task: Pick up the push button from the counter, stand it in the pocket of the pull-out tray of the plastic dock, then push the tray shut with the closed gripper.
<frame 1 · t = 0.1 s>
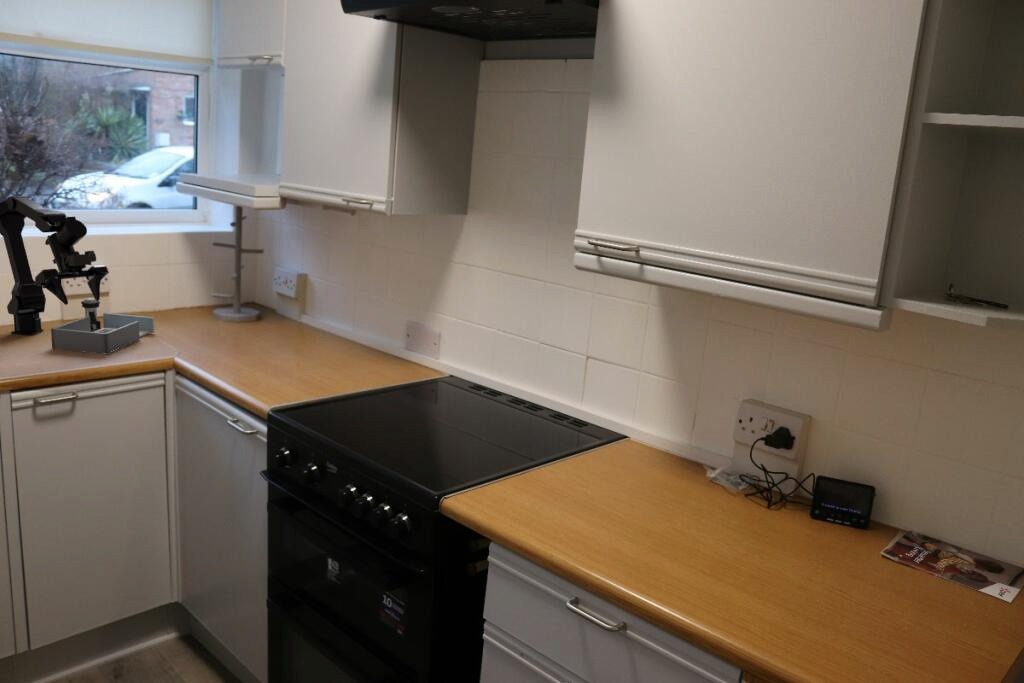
hand: (82, 302, 231), 15 cm above the worktop, tool tilted 35°, fingers open, 9 cm apart
push button: (89, 330, 260), on the worktop
dock: (100, 342, 246), on the worktop
tray: (113, 328, 253), point 3 cm above the worktop, slide at 8.0 cm
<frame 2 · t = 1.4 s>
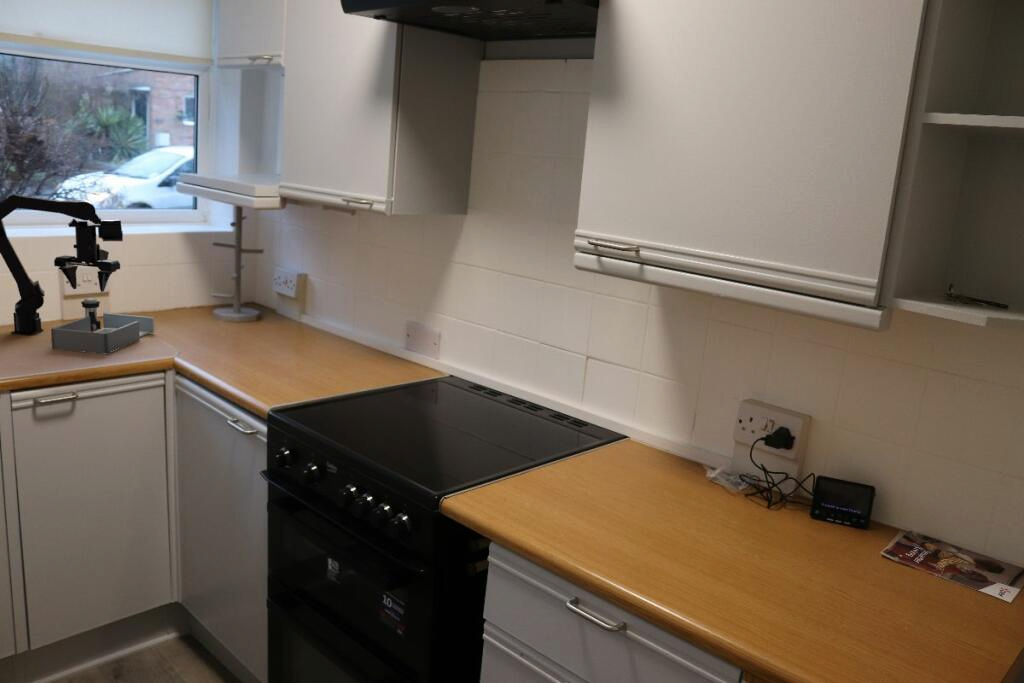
hand: (88, 290, 256), 13 cm above the worktop, tool pointing down, fingers open, 9 cm apart
nothing on the worktop moved.
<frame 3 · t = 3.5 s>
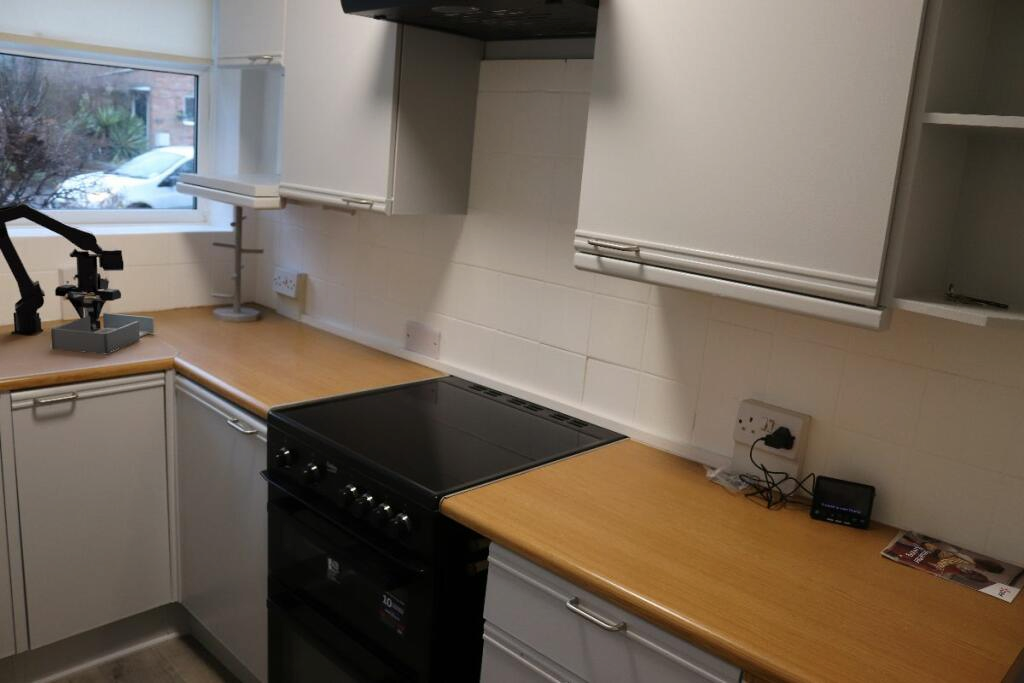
hand: (89, 319, 259), 4 cm above the worktop, tool pointing down, fingers closed on push button, 4 cm apart
push button: (89, 330, 260), on the worktop, touching gripper
everything else where it was.
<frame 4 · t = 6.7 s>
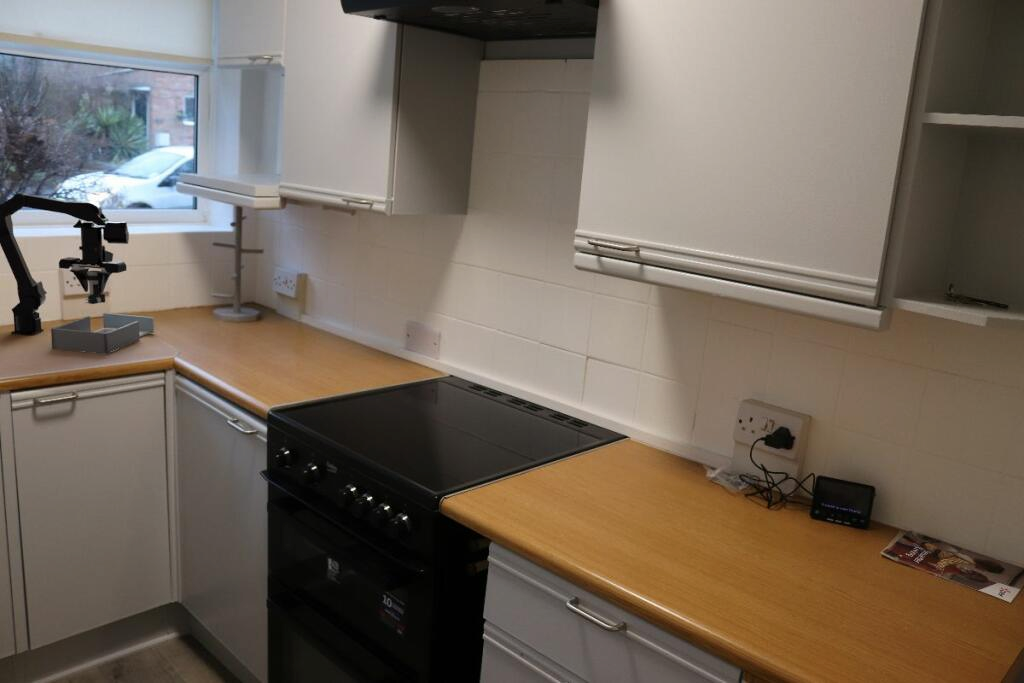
hand: (94, 292, 254), 13 cm above the worktop, tool pointing down, fingers closed on push button, 4 cm apart
push button: (94, 303, 255), point 9 cm above the worktop, touching gripper
everything else where it was.
when the fingers open (6 cm above the worktop, at t = 9.8 s): push button drops 2 cm, resting on tray.
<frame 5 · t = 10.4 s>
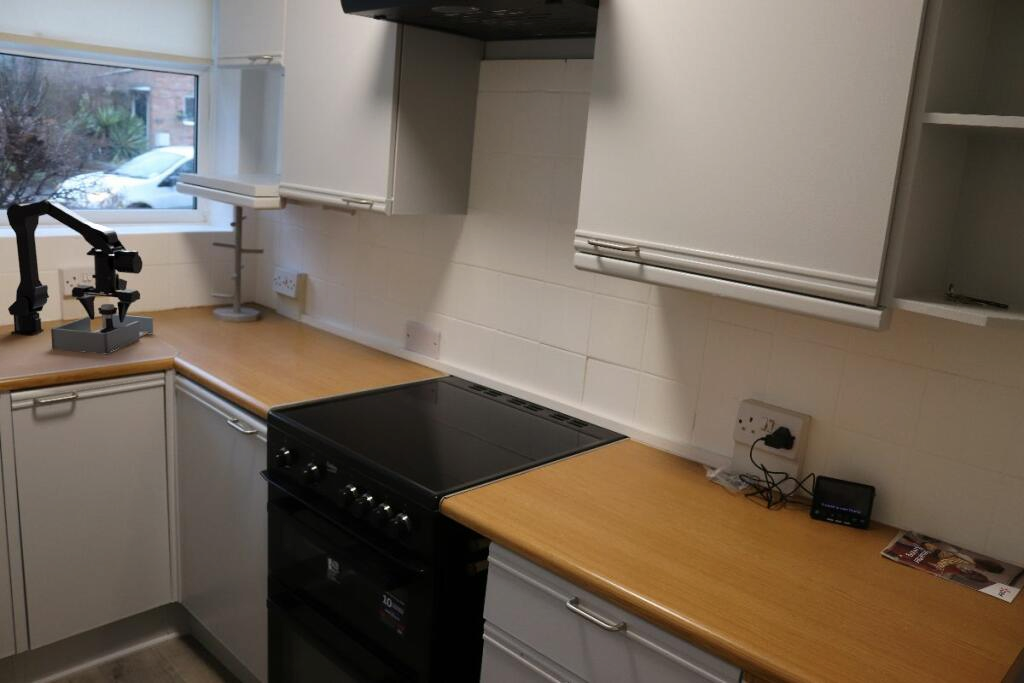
hand: (107, 321, 248), 6 cm above the worktop, tool pointing down, fingers open, 9 cm apart
push button: (107, 337, 249), point 1 cm above the worktop, touching tray
tray: (113, 329, 252), point 3 cm above the worktop, slide at 7.6 cm, touching push button
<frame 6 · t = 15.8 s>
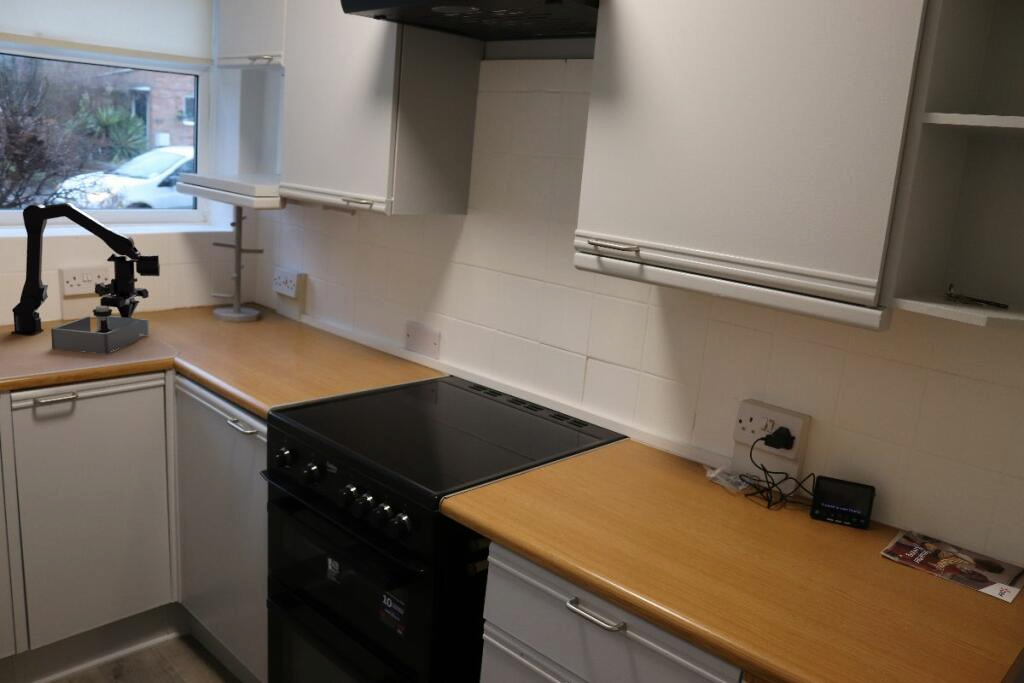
hand: (125, 323, 260), 3 cm above the worktop, tool pointing down, fingers closed
push button: (101, 340, 247), point 1 cm above the worktop, touching tray
tray: (107, 331, 249), point 3 cm above the worktop, slide at 4.7 cm, touching push button, gripper
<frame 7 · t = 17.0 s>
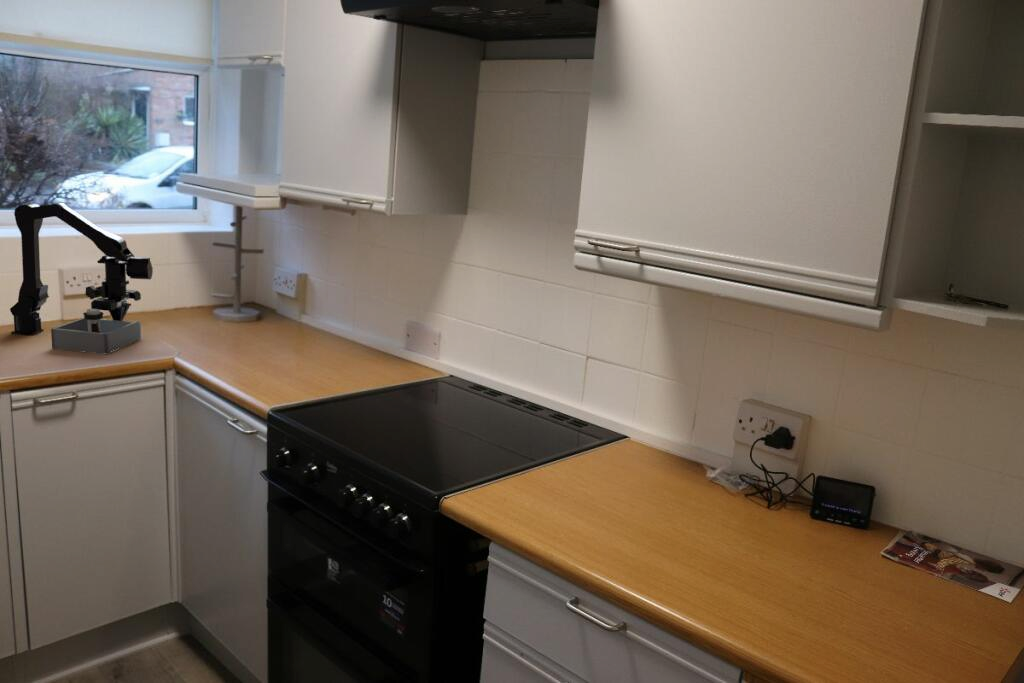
hand: (117, 326, 255), 3 cm above the worktop, tool pointing down, fingers closed
push button: (92, 343, 242), point 1 cm above the worktop, touching tray
tray: (99, 334, 245), point 3 cm above the worktop, slide at -0.1 cm, touching push button, gripper
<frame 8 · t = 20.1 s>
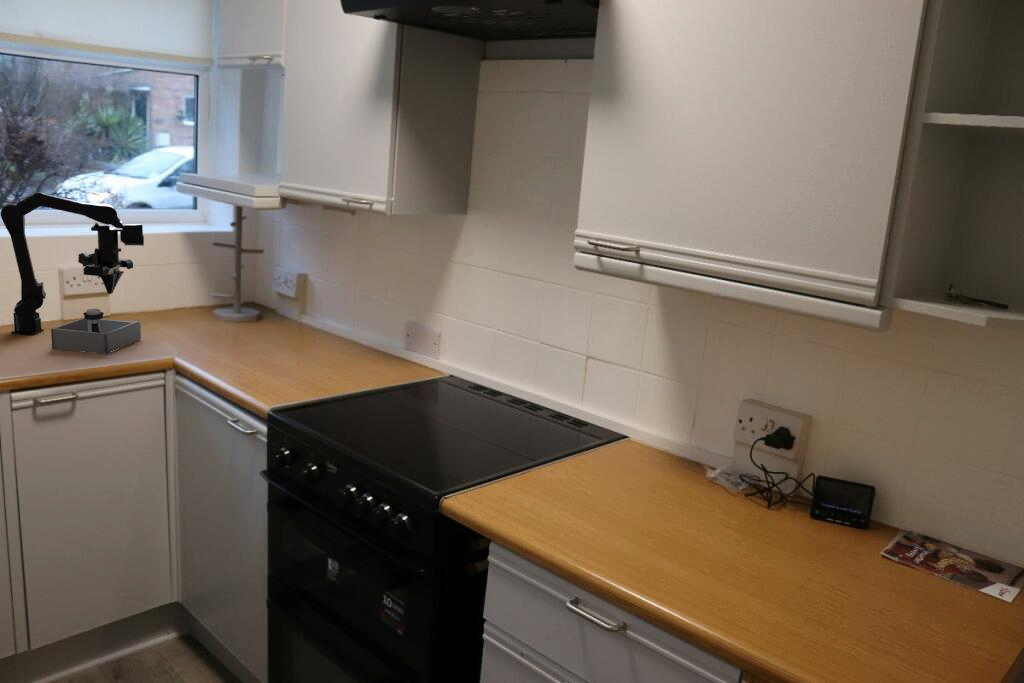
hand: (110, 293, 259), 12 cm above the worktop, tool pointing down, fingers closed
tray: (99, 334, 245), point 3 cm above the worktop, slide at 0.0 cm, touching push button
everything else where it was.
at the end: tray slide at 0.0 cm; push button inside the target area on the dock (0.4 cm from its centre), point 0.7 cm above the dock's base; push button tilted 0° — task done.
